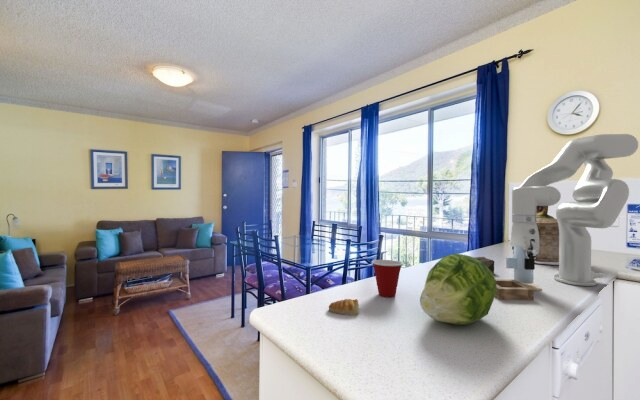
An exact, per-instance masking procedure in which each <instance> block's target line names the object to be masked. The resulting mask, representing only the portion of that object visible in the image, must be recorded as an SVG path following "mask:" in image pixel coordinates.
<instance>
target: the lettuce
mask: <svg viewBox="0 0 640 400" xmlns="http://www.w3.org/2000/svg"><path fill="white" fill-rule="evenodd" d="M474 257H475V256H471V255H466V254H462V253H452V254H449V255H444V256H443V257H442V258H441V259H439V260H438V261H437V262H436V263H435V264H434V265H433V266H432V267H431V268H430V269H429V271H428V274H427V276H426V280H425V284H424V287H423V289H422V291H421V294H420V297H419V305H420V307H421V309H422V311H423V312H424V313H425V315H427V316H428V317H430V318H431V319H434V320H436V321H438V322H443V323H448V324H450V325H469V324H472V323H474V322H476V321H479V320H481V319H483V318H484V317H486V316H488V314H489V312H490V310H491V307H492V306H493V305H492V304H493V302H494V300H495V298H496V297H495V294H496V292H497V286H496V280H495V279H496V278H495V277H494V273H492V272H491V271H490V270H489V268H488V267H487V266H486V265H485V264H484V263H483V262H481V261H479V260H477V259H476V258H474Z"/></svg>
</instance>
